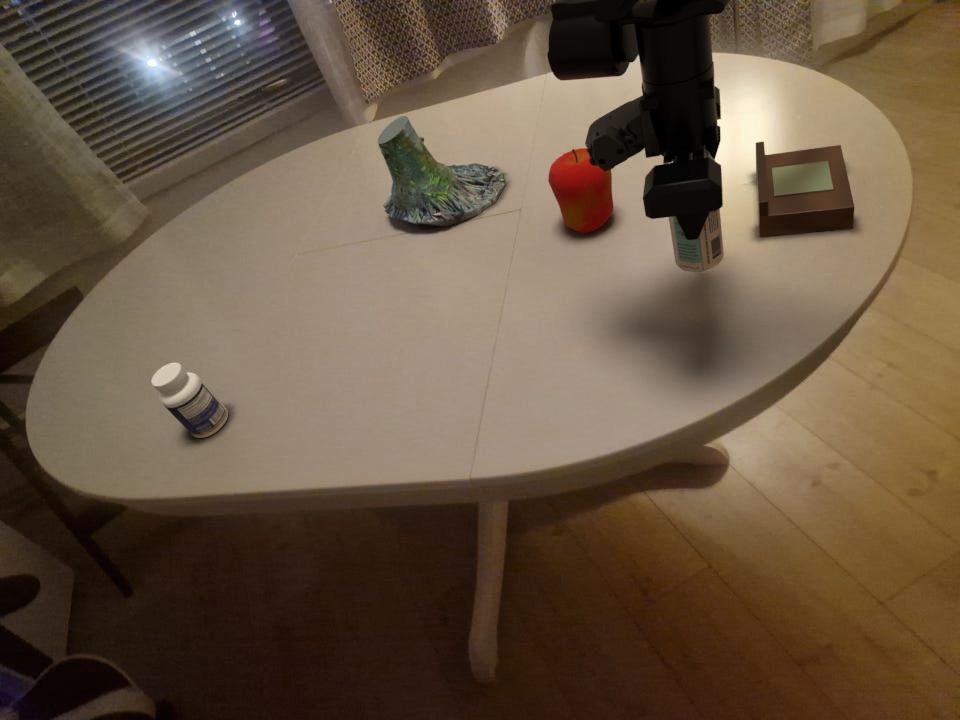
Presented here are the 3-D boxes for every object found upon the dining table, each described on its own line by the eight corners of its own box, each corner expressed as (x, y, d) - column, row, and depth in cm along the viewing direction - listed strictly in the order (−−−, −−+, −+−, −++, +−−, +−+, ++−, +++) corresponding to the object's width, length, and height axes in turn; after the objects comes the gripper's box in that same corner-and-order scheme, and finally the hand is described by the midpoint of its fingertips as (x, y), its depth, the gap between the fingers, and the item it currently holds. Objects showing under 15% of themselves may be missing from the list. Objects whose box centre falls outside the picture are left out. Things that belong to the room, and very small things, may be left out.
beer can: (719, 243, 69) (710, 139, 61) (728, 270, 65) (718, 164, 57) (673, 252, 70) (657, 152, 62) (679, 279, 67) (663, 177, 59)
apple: (618, 236, 88) (604, 159, 80) (558, 245, 91) (538, 170, 83) (621, 201, 94) (608, 126, 86) (564, 210, 97) (546, 138, 89)
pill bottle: (189, 423, 88) (143, 374, 81) (224, 401, 89) (182, 351, 82) (195, 446, 84) (148, 397, 77) (233, 423, 85) (189, 372, 78)
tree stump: (519, 206, 102) (459, 115, 90) (415, 271, 107) (346, 192, 95) (496, 154, 115) (441, 68, 103) (405, 213, 120) (342, 138, 108)
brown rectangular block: (839, 165, 85) (841, 130, 82) (852, 228, 76) (856, 191, 72) (756, 175, 89) (755, 142, 85) (759, 237, 80) (759, 202, 76)
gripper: (594, 46, 64) (620, 184, 74) (567, 140, 51) (602, 291, 62) (715, 18, 59) (724, 169, 70) (716, 114, 47) (727, 280, 57)
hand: (692, 223), depth 65 cm, fingers closed on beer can, 5 cm apart
